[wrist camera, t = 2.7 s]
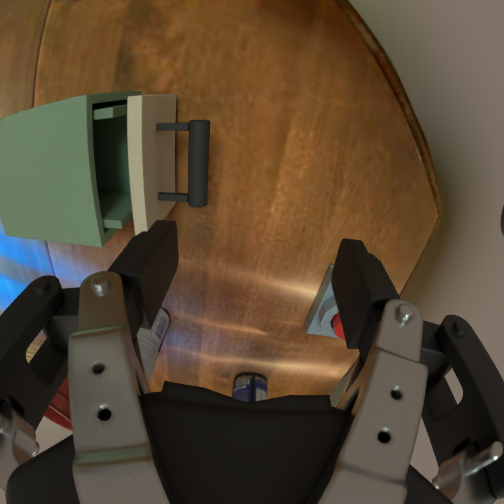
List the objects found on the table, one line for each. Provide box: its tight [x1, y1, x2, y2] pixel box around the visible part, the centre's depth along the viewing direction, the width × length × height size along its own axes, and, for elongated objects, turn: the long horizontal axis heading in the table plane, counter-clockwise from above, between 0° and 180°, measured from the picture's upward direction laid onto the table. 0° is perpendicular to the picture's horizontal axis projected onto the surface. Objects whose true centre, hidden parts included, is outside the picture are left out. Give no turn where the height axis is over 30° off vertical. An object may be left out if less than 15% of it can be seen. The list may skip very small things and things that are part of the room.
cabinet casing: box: [0, 91, 141, 247], centre depth 21 cm, size 15×13×10 cm
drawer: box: [92, 94, 210, 236], centre depth 21 cm, size 18×11×8 cm, turn 85°
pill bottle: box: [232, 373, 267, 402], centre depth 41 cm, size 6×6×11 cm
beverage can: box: [137, 307, 170, 384], centre depth 32 cm, size 5×5×15 cm
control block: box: [305, 264, 340, 338], centre depth 33 cm, size 10×7×4 cm
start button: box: [332, 312, 345, 338], centre depth 31 cm, size 4×4×2 cm
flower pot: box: [44, 375, 72, 431], centre depth 41 cm, size 16×16×16 cm
